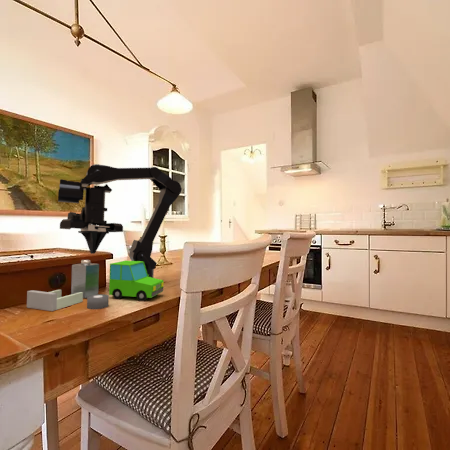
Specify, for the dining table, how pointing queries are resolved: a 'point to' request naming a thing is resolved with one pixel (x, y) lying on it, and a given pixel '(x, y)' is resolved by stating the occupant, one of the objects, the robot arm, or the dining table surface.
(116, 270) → the toy car
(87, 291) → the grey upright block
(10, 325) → the dining table surface
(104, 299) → the spare wheel
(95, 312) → the dining table surface
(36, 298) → the bay
